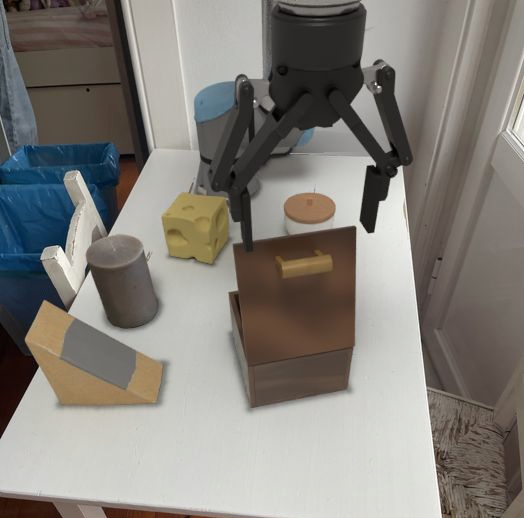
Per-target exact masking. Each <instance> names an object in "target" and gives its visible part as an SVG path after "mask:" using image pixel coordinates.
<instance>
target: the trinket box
mask: <svg viewBox="0 0 524 518" xmlns="http://www.w3.org/2000/svg"><path fill="white" fill-rule="evenodd" d="M336 209H337V207H336V202H335V201H334V200H333V199H332V198H331V197H329V196H327V195H325V194H323V193H319V192H301V193H296V194H294V195H292V196H290V197H288V198H287V199H286V200H285V201H284V204H283V215H284V216H283V217H284V224H285V225H284V226H285V227H286V231H287V233H288V235H294V234H300V233H307V232H314V231H320V230H327V229H333V225H334V221H335V215H336V214H335V213H336Z"/></svg>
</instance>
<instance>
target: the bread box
mask: <svg viewBox="0 0 524 518" xmlns="http://www.w3.org/2000/svg"><path fill="white" fill-rule="evenodd" d="M227 293H228V303H229V312H230V323H231V333H232V337H233V342H234V345H235V350H236V353H237V358H238V361H239V366H240V370H241V373H242V374H241V375H242V378H243V381H244V386H245V390H246V393H247V399H248V402H249V407H250V408H251V409H253V408H259V407H263V406H268V405H269V406H270V405H274V404H279V403H285V402H289V401H294V400H298V399H299V400H300V399H304V398H309V397H310V398H311V397H315V396H319V395H320V396H321V395H324V394H331V393H336V392H341V391H346V390H348V384H349V379H350V371H351V368H352V367H351V366H352V360H353V353H354V347H355V346H354V347H349V348H344V349H338V350H333V351H327V352H322V353H316V354H311V355H305V356H300V357H294V358H289V359H283V360H278V361H272V362H267V363H261V364H256V365H250V366H248V364H247V359H246V351H245V342H244V334H243V326H242V318H241V310H240V302H239V294H238V290H233V291H228V292H227Z"/></svg>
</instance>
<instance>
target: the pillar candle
mask: <svg viewBox="0 0 524 518" xmlns="http://www.w3.org/2000/svg"><path fill="white" fill-rule="evenodd" d="M85 259H86V262H87V265H88V268H89V271H90V274H91V277H92V280H93V282H94V286H95V288H96V291H97V293H98V295H99V299H100V302H101V305H102V308H103V310H104V312H105V315H106V320H107V321H108V322H109V323H110V325H112V326H114V327H117V328H120V329H121V328H123V329H133V328H137V327H140V326H144V325H145V324H147V323H149V322H150V321H151V320H152V319H153V318H154V317H155V316H156V315H157V313H158V309H159V305H158V300H157V296H156V292H155V288H154V284H153V280H152V276H151V272H150V268H149V264H148V260H147V257H146V253H145V247H144V244H143V242H142V240H141V239H140V238H137V237H135V236H133V235H128V234H123V233H117V234H112V235H107V236H105V237H102V238H99V239H97V240H96V241H94V242H92V243H91V244H90V245H89V246H88V248H87V249H86V251H85Z"/></svg>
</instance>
